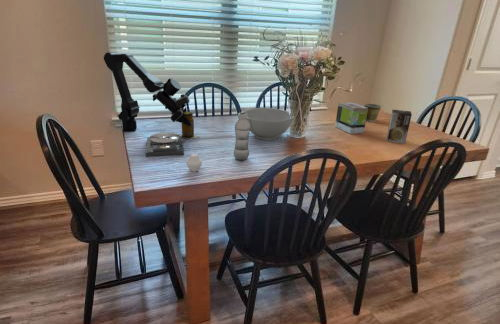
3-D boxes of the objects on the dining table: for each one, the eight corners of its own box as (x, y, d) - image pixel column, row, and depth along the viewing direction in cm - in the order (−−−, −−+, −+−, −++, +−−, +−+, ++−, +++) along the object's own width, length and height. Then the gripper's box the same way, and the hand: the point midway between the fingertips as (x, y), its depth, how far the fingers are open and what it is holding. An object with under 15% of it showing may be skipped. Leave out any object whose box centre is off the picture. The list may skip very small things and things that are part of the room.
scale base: (146, 156, 138) (145, 149, 137) (147, 141, 156) (147, 134, 155) (184, 154, 142) (183, 147, 141) (181, 140, 160) (181, 133, 159)
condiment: (190, 132, 171) (190, 110, 166) (199, 137, 165) (198, 114, 160) (178, 135, 167) (177, 112, 162) (186, 139, 161) (185, 116, 156)
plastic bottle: (233, 155, 143) (234, 111, 136) (248, 156, 144) (250, 112, 136) (233, 161, 138) (234, 115, 130) (249, 161, 138) (251, 116, 130)
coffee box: (404, 140, 174) (411, 111, 168) (405, 144, 168) (412, 113, 162) (386, 138, 177) (392, 109, 170) (386, 141, 171) (393, 111, 165)
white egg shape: (187, 167, 130) (186, 150, 128) (202, 167, 131) (202, 151, 128) (185, 173, 125) (184, 156, 122) (201, 173, 125) (201, 157, 122)
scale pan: (149, 144, 143) (149, 141, 143) (150, 135, 155) (150, 132, 154) (179, 143, 146) (179, 140, 146) (178, 134, 158) (178, 131, 157)
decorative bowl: (233, 140, 163) (233, 116, 158) (251, 126, 186) (252, 105, 182) (284, 148, 155) (287, 124, 150) (297, 133, 178) (299, 111, 173)
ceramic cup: (380, 123, 204) (383, 107, 200) (364, 122, 204) (367, 106, 200) (373, 117, 216) (376, 103, 212) (358, 117, 216) (361, 102, 212)
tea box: (364, 133, 184) (369, 107, 178) (349, 134, 180) (353, 108, 174) (348, 125, 196) (352, 101, 191) (334, 126, 193) (337, 102, 187)
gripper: (176, 93, 148) (201, 117, 154) (181, 86, 165) (203, 108, 171) (160, 110, 151) (185, 133, 156) (166, 101, 168) (188, 122, 173)
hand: (191, 123), depth 164 cm, fingers closed on condiment, 6 cm apart
